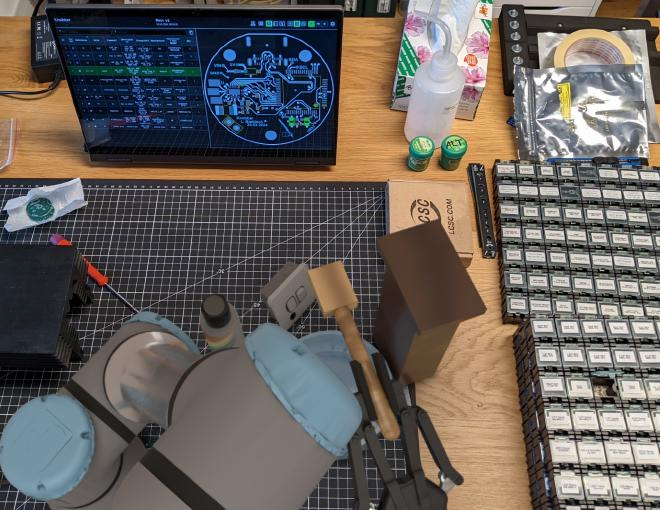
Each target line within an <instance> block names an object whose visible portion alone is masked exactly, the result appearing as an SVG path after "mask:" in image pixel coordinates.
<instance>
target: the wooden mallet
mask: <svg viewBox="0 0 660 510" xmlns="http://www.w3.org/2000/svg"><path fill="white" fill-rule="evenodd" d="M345 269H346V268H345V267H344V264H343V262H342V260H341V259H340V260H337V261H334V262H331V263H327V264H324V265H321V266H318V267H315V268H312V269H309V270H308V280H309V282H310V285H311V287H312V290H313V292H314V295H315V297H316V299H315V301H316V302H317V305H318V307H319V310H320V313H321V315H322V317H323V319H328V318H331V317H333V316H334V318H335V320H336V323H337V325H338V328H339V331H341V333H342V336H343V338H344V341H345V343H346V346H347V348H348V350H349V353H350V355H351V358H352V360H357V361H358V362H360V363H361V366H362V369H363V372H364V375H365V379H366V382H367V385H368V388H369V391H370V395H371V398H372V401H373V404H374V408H375V411H376V414H377V417H378V420H377V422H378V425H379V427H380V430H381V432H382V433H381V434H382V436H383V438H384V439H385V440H387V441H389V442H393V441H397V439H398V438H400V428H399V426H398V423H397V419H396V415H395V413H393V412H392V409H391V407H390V404H389V402H388V400H387V397H386V395H385V393H384V390H383V388H382V385H381V383H380V381H379V378H378V376H377V373H376V371H375V369H374V366H373V364H372V361H371V359H370V357H369V354H368V352H367V349H366V347H365V345H364V342H363V340H362V335H361V333H360V331H359V329H358V326H357V323H356V321H355V318H354V315H353V313H352V311H351V310H354V309H357V308H358V305H359V300H358V297H357V295H356V292H355V290H354V288H353V286H352V283H351V281H350V278H349V277H348V274H347V271H346V270H345Z"/></svg>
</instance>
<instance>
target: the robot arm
mask: <svg viewBox="0 0 660 510" xmlns="http://www.w3.org/2000/svg"><path fill="white" fill-rule="evenodd" d="M244 337H245V339H244V343H243V344H242V345H241V346H240V347H230V348H222V349H219V350H215V351H210V352H208V353H206V354H201V351H200V349H199V348H198V346H197V344H196V343H195V342H194V340H193V339H192V338H191V337H190V336H189V335H188V334H187V333H186V332H184V331H183V329H182V328H180V326H178V325H176V324H175V323H174V322H173V321H171V320H169V319H168V318H167V317H162V315H160V314H159V313H156V312H154V311H149V310H144V311H143V310H142V311H140V312H137V313H136V314H134V316H132V317H131V318H130V319H128V320H126V321H125V322H123V323H122V325H121V326H120V328H119V329H118V330H117V331H116V332H115V333H114V334H113V335H112V336H111V337H110V338H109V339H108V340H107V341H106V342H105V343H104V344H103V345H102V346H101V347H100V348H99V349H98V350H97V351H96V352H95V353H94V354H93V355H92V356H91V357H90V358H89V359H88V360H87V361H86V362H85V363H84V365H82V366H81V367H80V368H79V369H78V370H77V371H76V373H74V374H73V376H71V377H70V379H69V380H68V381H67V382H66V383H65V384H64V385H63V386H62V387H61V388H60V389H59V390H57V392H56V393H50V394H45V395H40V396H37V397H35V398H32V399H30V400H29V401H27V402H25V403H24V404H23V405H22V406H20V407H19V408H18V409H17V410H16V411H15V412H14V413H13V414H12V416H11V417H10V418H9V420H8V421H7V423H6V425H5V427H4V428H3V431H2V433H1V436H0V468H1V471H2V473H3V475H4V477H5V479H0V486H3V485H10V484H11V485H12V487H14V488H15V489H17V490H19V491H20V492H21V493H22V494H23V495H25V496H26V497H29V498H31V499H33V500H37V501H42V502H46V503H47V505H48V507H49V509H50V510H300V509H301V508H302V507H303V506H304V504H305V503H306V501H307V500H308V498H309V497H310V496H311V494H312V493H313V492H314V490H315V489H316V487H317V486H318V485H319V483H320V482H321V481H322V479H323V478H324V476H325V475H326V473H327V472H328V471H329V470H330V468H331V467H332V465H333V464H334V463H335V461H337V460H336V458H337V457H338V456H342V455H343V454H344V453H345V449H346V445H347V450H348V456H349V458H348V461H349V462H348V463H349V467H350V473H351V480H352V486H353V493H354V498H353V504H352V507H351V508H352V509H351V510H448V503H449V497H448V495H449V493H450V492H451V491H452V489H453V488H454V487H455V486H457V487H460V486H462V485H463V484H464V482H465V478H464V476H463V475H462V474H461V472H459V471H458V470H457V469H456V468H455V467H454V466H453V465H452V462H451V460H450V457H449V456H448V454H447V452H446V450H445V447H444V446H443V443H442V441H441V439H440V437H439V435H438V432H437V431H436V428H435V425H434V424H433V421H432V419H431V417H430V415H429V413H428V411H427V410H426V409H424V408H423V407H421V406H420V405H418V404H413V405H409V404H408V401H407V398H406V395H405V392H404V388H403V387H402V385H401V383H400V382H399V381H398V380H397V379H395V378H394V379H390V376H389V373H388V370H387V366H386V363H385V360H384V356H383V355H381V354H380V352H379V351H378V352H379V353H378V352H376V353H373V354H371V356H372V360H373V363H374V366H375V370H376V373H377V376H378V378H379V381H380V383H381V385H382V388H383V390H384V393H385V395H386V397H387V400H388V402H389V404H390V407H391V409H392V412H393V414H394V415H395V419H396V421H397V423H398V426H399V428H400V435H399V438H400V443H401V449H402V453H403V459H404V467H405V473H404V474H403V475H402V476H400V477H395V475H394V472H393V470H392V468H391V465H390V462H389V460H388V457H387V455H386V453H385V451H384V448H383V446H382V444H381V441H380V439H379V437H378V436H377V434H376V432H375V427H374V426H373V425H372V423H371V422H373V421H375V420H378V417H377V414H376V411H375V408H374V404H373V401H372V398H371V395H370V391H369V388H368V385H367V382H366V379H365V375H364V372H363V369H362V366H361V363H360V362H358V361H357V360H353V361H350V362H349V363H350V366H351V369H352V373H353V376H354V379H355V382H356V386H357V389H358V392H355V393H352V391H351V390H350V389H349V388H348V386H347V385H346V384H345V383H344V382H343V381H342V379H341V378H340V377H339V376H338V375H337V374H336V373H335V372H334V371H333V370H332V369H331V368H330V367H329V366H328V365H327V364H326V363H325V362H324V361H323V360H322V359H321V358H320V357H319V356H318V355H316V354H315V353H314V352H313V351H312V350H311V349H310V348H308V347H307V346H306V345H305V344H304V343H302V342H301V341H300V340H299V339H300V338H298V337H296V336H295V335H294V334H292V333H291V332H290V331H288V330H287V331H286V330H285V329H283V328H282V327H280V326H279V324H276V323H272V322H264V323H261V324H260V325H258V327H256V328H255V329H254V330H253V331H252V332H249V333H247V335H246V336H244ZM413 420H414V421H413ZM414 422H415V424H416V425H417V429H418V430H419V432H420V434H421V436H422V438H423V441H424V444H425V445H426V447H427V449H428V451H429V454H430V456H431V458H432V461H434V465H435V466H436V467H437V468H438V469H439V470H438V473H437V478H438V480H439V484H437V483H435V482H434V481H433V480H431V479H430V478H429V477H427V476H426V474H425V470H424V468H423V466H422V459H421V455H420V450H419V445H418V440H417V435H416V432H415V431H416V430H415V425H414ZM149 424H157V426H159V427H161V428H162V429H164V430H165V431H164V432H163V433H162V434H161V435H160V437H158V439H157V440H156V441H155V442H154V443H153V445H151V447H150V448H149V449H148V448H147V446H146V445H145V443H144V441H143V440H142V439H141V437H140V436H139V434H140V433H141V431H143V429H144V428H145V427H146V426H147V425H149ZM363 438H364V440H365V442H366V444H367V447H368V448H367V449H368V451H369V454H370V456H371V458H372V461H373V463H374V466H375V468H376V470H377V473H378V475H379V480H380V481H381V483H382V486H383V489H382V491H381V495H380V499H379V501H378V504H377V508H376V509H375V505H374V503H373V502H372V500H371V496H370V491H369V484H368V479H367V478H368V477H367V472H366V466H365V460H364V459H365V458H364V453H363V452H364V451H363V452H362V446H361V440H362V439H363Z"/></svg>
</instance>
